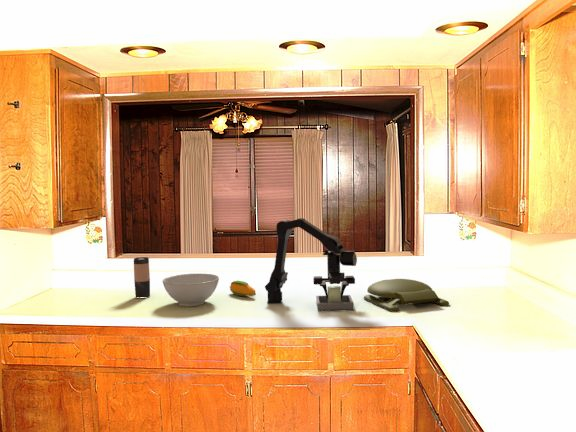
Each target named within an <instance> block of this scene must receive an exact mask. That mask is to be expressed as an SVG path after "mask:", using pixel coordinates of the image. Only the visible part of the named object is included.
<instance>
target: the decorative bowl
mask: <svg viewBox="0 0 576 432" xmlns="http://www.w3.org/2000/svg"><path fill="white" fill-rule="evenodd" d="M219 280H220V277H219V276H218V275H217V274H212V273H184V274H183V273H182V274H176V275H171V276H168V277H167V276H166V277H165V278H163V279H162V284H163V287H164V290H165V291H166V292H167V294H168V295H169V297H170V298H172V300H174V301H175V302H177V303H178V305H179V306H182V307H195V306H196V305H197V306H201V305H203V303H204V304H205V303H206V300H208V299H209V298H210V297H211V296H212V295H213V294H214V293H215V291H216V289H217V287H218V284H219Z"/></svg>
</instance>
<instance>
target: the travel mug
mask: <svg viewBox="0 0 576 432" xmlns="http://www.w3.org/2000/svg"><path fill="white" fill-rule="evenodd" d="M150 273H151V272H150V259H149V257H147V256H145V257H144V256H142V257H135V258H133V275H134V277H133V279H134V290H135V291H134V293H135V298H136V297H148V296H150V297H151V279H150V278H151V276H150V275H151V274H150ZM148 298H149V297H148Z"/></svg>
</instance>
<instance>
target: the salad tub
mask: <svg viewBox="0 0 576 432" xmlns="http://www.w3.org/2000/svg"><path fill="white" fill-rule="evenodd" d="M327 294H328V303H340V302H341V285H329V286H327Z"/></svg>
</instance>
